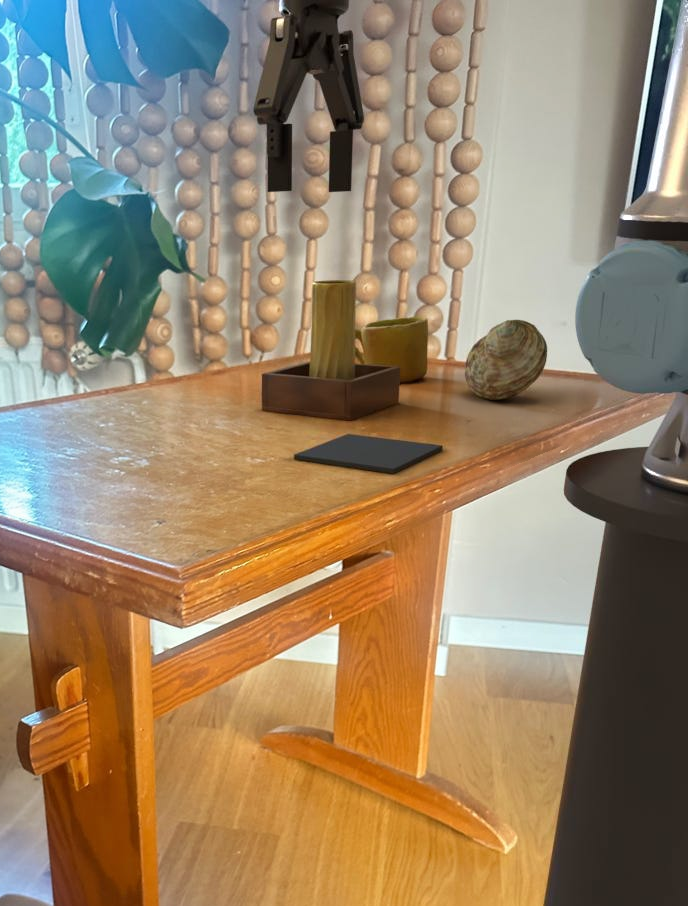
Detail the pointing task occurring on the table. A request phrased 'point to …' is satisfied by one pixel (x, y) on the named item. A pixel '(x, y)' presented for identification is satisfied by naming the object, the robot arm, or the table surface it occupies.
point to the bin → (330, 391)
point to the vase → (333, 329)
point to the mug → (396, 345)
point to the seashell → (506, 360)
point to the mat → (369, 453)
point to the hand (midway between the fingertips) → (311, 192)
